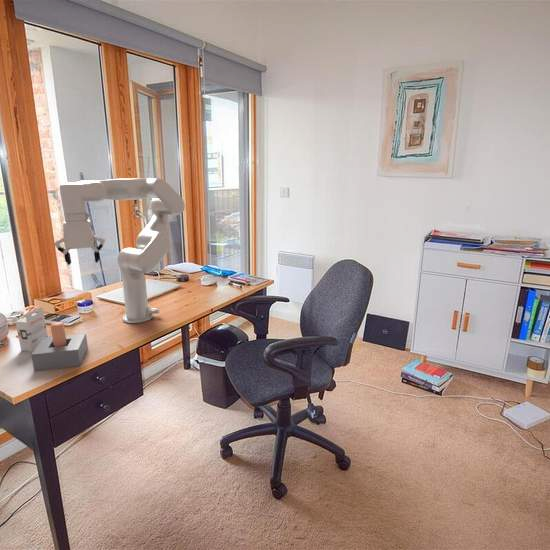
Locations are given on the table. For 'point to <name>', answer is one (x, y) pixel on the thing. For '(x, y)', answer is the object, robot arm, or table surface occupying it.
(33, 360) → the socket block
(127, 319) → the robot arm
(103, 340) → the table surface
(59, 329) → the peg
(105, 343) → the table surface
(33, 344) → the ink box
